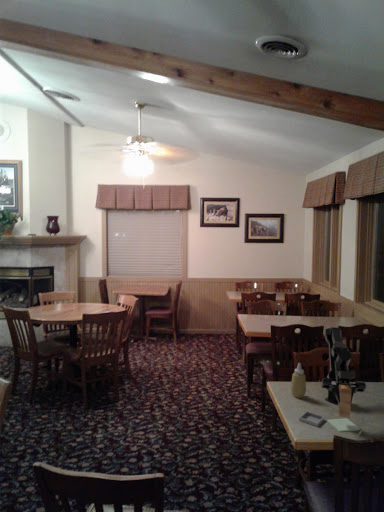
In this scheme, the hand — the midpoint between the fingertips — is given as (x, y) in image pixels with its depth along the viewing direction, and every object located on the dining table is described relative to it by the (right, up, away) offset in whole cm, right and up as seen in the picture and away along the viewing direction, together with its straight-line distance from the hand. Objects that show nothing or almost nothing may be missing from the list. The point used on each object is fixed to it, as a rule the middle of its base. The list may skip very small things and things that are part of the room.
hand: (344, 403), depth 173 cm
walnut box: (0, -6, +2) cm, 6 cm away
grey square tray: (-13, -11, +6) cm, 18 cm away
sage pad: (0, -11, +2) cm, 11 cm away
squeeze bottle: (-12, -9, +33) cm, 37 cm away
